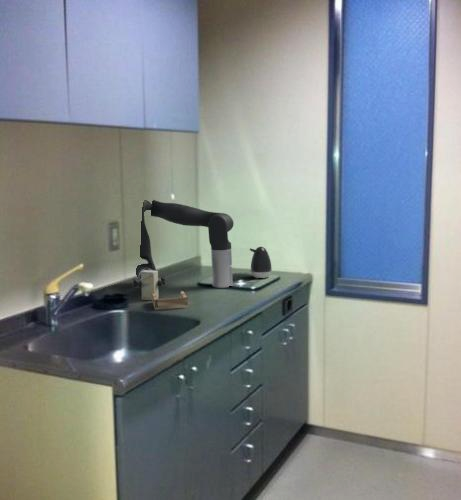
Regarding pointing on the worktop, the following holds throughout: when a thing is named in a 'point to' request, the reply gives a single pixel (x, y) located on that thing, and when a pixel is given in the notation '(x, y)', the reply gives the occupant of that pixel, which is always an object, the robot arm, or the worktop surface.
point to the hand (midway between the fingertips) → (150, 284)
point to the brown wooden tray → (170, 302)
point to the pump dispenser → (260, 263)
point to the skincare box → (149, 284)
